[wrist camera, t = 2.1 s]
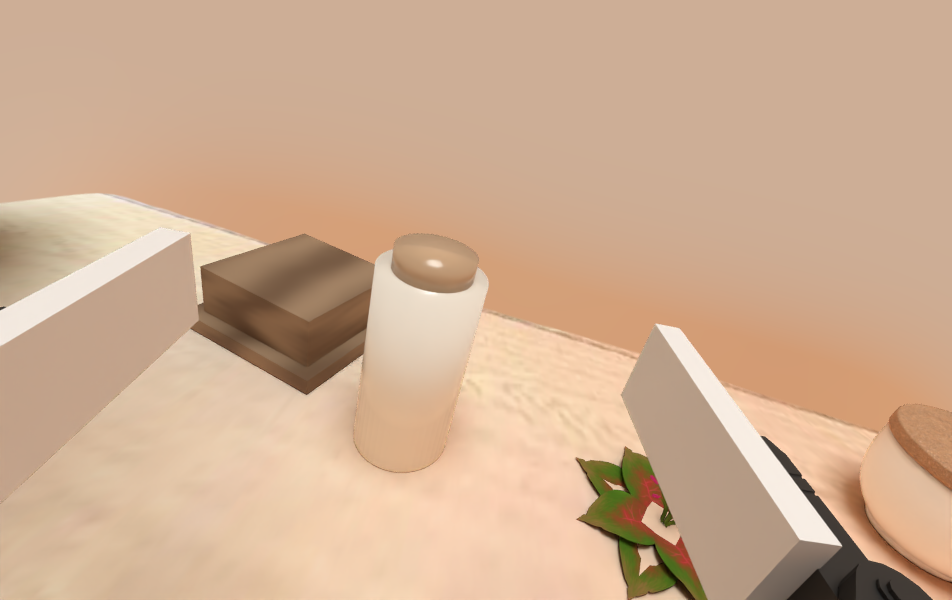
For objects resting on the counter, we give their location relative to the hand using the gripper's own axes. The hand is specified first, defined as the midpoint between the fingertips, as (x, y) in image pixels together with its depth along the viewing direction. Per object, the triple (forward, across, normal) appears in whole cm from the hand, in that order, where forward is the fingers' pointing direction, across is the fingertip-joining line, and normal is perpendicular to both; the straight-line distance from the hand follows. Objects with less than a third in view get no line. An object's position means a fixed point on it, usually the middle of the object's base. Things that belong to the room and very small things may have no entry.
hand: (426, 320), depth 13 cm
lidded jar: (+8, +36, -16) cm, 41 cm away
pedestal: (+20, -10, -15) cm, 27 cm away
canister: (+10, 0, -15) cm, 18 cm away
